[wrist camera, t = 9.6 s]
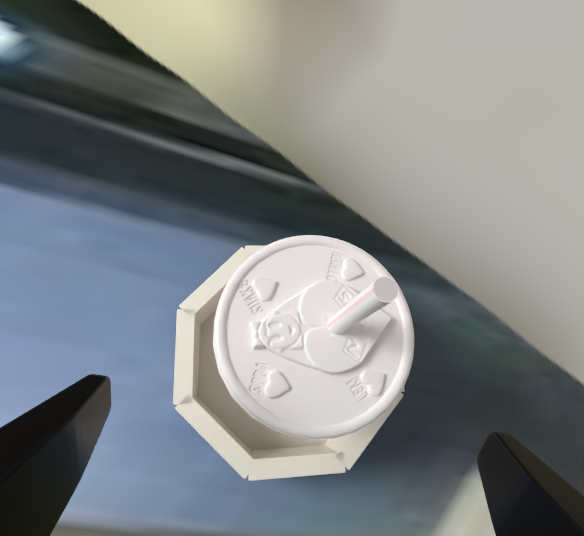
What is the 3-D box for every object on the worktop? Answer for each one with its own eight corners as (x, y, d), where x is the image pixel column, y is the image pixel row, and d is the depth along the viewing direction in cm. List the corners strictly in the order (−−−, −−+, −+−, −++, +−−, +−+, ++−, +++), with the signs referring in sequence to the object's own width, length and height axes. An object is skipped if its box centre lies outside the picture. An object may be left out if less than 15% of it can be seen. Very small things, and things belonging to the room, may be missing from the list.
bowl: (407, 353, 23) (440, 345, 19) (288, 509, 19) (301, 536, 16) (277, 236, 24) (284, 207, 20) (144, 364, 21) (124, 356, 17)
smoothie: (350, 411, 20) (553, 438, 7) (228, 431, 19) (208, 504, 6) (329, 295, 22) (461, 149, 9) (218, 307, 21) (185, 160, 8)
